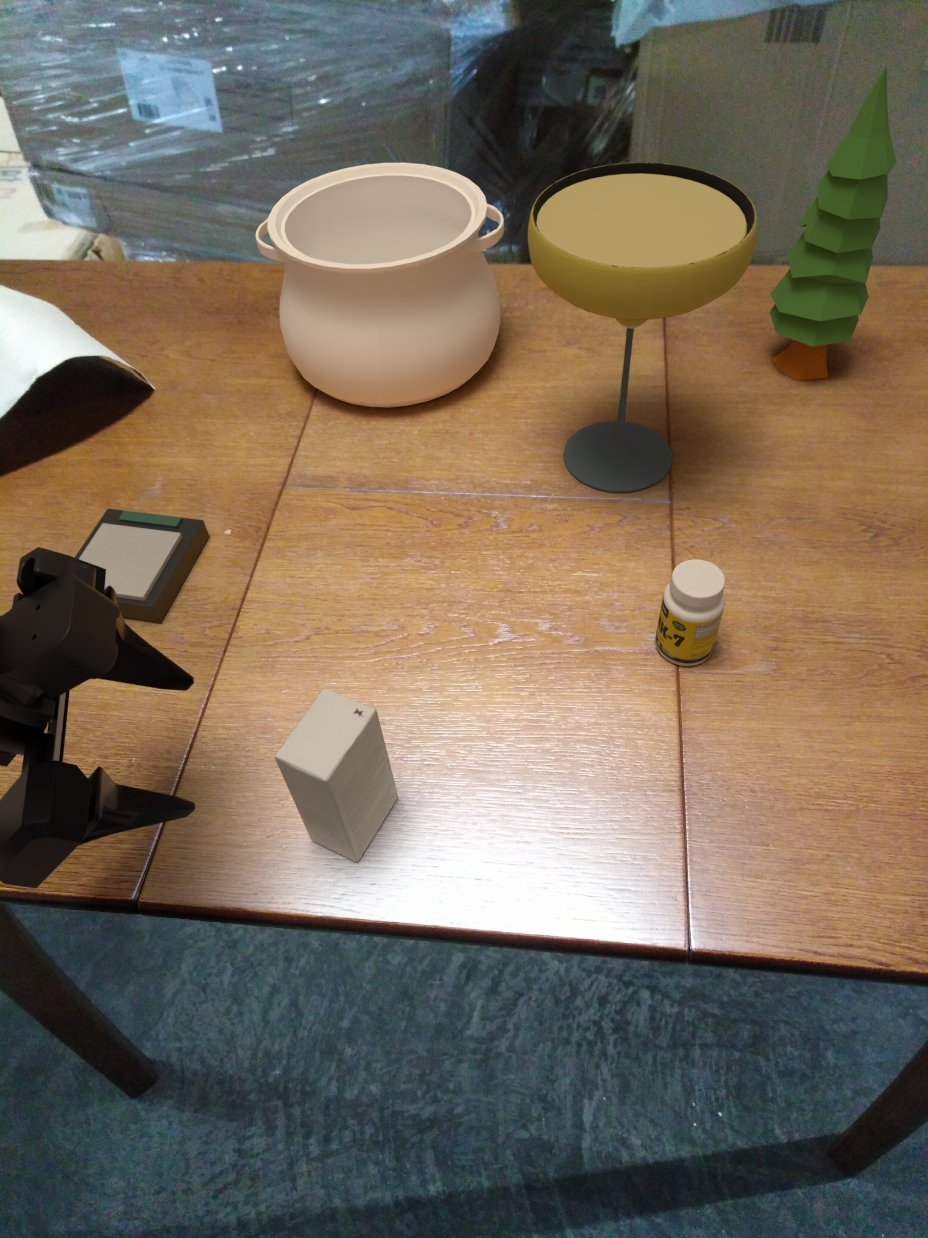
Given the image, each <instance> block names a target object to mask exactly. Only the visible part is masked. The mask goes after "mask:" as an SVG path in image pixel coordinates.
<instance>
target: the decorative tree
mask: <svg viewBox="0 0 928 1238" xmlns="http://www.w3.org/2000/svg"><path fill="white" fill-rule="evenodd" d="M896 164H897V158H896V154H895V149H894V145H893V140H892V137H891V132H890V122H889V105H888V64H885V66H884V68H882V71H881V73H880V74H879V76H878V77H877V78H876V81H875V82H874V84H873V85H872V86H871V88H870V90H869V92H868V93H867V95H866V97H865V99H864V101H863V103H862V105H861V106H860V109H859V111H858V113H857V114H856V117H855V119H854V121H853V123H852V124H851V127H850V128H849V130H848V132H847V133H846V135H845V136H844V138H843V139H842V141H841V142H840V144H839V145H838V146H837V148H836V149H835V151H834V153H833V154H832V156H831V157H830V159H829V160H828V162H827V163H826V165H825V166H826V167H827V170H826V171H825V173H824V174H823V176H822V177H821V178H820V180H819V181H818V183H817V184H816V195H817V196H816V198H815V199H814V200H813V201H812V203H811V205H810V206H809V207H808V209H807V210H806V212H805V213H804V214H803V215H802V217H801V218H800V220H799V221H798V223H799V225H800V226H799V227H800V228H801V227H802V228H804V231H803V232H802V234H801V235H800V237H799V238H798V239H797V240H796V242H795V243H794V244H793V246H792V248H791V249H790V250H789V251H788V253H787V254H786V257H787V262H788V266H789V269H788V270H787V272H786V273H785V274H784V275H783V276H782V278H781V279H780V280H779V282H778V283H777V284H776V285H775V287H774V288H773V289H772V290H771V292H770V293H769V294H770V296H771V298H772V300H773V303H774V305H773V306H772V308H771V309H770V311H769V316H770V319H771V322H772V324H773V327H774V330H775V333H776V335H779V336H780V337H781V336H782V337H783V338H784V337H785V338H787V339H790V340H792V342H791V344H790V345H789V346H788V347H787V348H785V349H784V350H782V351H780V353H778V354H777V355H776V356H774V357H773V358H772V359H771V360H772V362H773V364H774V365H775V367H776V368H777V370H778V371H779V372H780V373H782V374H784V375H786V376H788V377H790V378H792V379H794V380H796V381H806V380H820V379H822V380H823V379H829V373H828V362H827V353H828V349H827V345H830V344H831V345H833V344H838V343H843V342H849V341H851V340H852V337H853V335H854V333H855V331H856V327H857V325H858V322H859V321H860V319H859V318H860V317H859V316H861V315H862V313H863V311H864V308H865V306H866V304H867V302H868V300H869V296H870V295H869V292H868V288H867V282H868V279H869V278H868V277H869V273H870V270H871V267H872V263H873V258H874V255H873V249H872V248H873V245H874V244H875V241H876V240H877V237H878V235H879V233H880V230H881V218H882V217H883V214H884V211H885V208H886V205H887V202H888V199H889V192H888V191H889V190H888V189H889V186H888V184H889V181H888V176H889V175H888V174H890V172H891V171H892V169H894V166H895V165H896Z"/></svg>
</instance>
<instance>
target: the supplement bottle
mask: <svg viewBox="0 0 928 1238" xmlns="http://www.w3.org/2000/svg"><path fill="white" fill-rule="evenodd" d="M725 585H726V577H725V575H724V572H723V571H722V570H721V568H719V566H717V565H716V564H715V563H712V562H711V561H707V560H703V559H699V558H698V559H696V558H694V559H688V560H684V561H682V562H680V563H679V564H677V565H676V566H675V567H674V569H673V571H672V573H671V577H670V579H669V582H668V583H667V585H666V586H665V588H664V590H663V594H662V599H661V605H660V610H659V615H658V621H657V626H656V631H655V640H654V641H655V642H654V643H655V647H656V649H657V651H658V653H659V654H660V655H661V656H662V657H663V658H664V659H665V660H666V661H668V662H670V663H671V664H674V665H677V666H681V667H693V666H697V665H700V664H702V663H704V662H705V661H706V660H707V659H709V657H710V656H711V654H712V653H713V650H714V647H715V643H716V639H717V636H718V632H719V629H720V624H721V621H722V617H723V614H724V610H725V605H726V604H725V603H726V597H725V593H724V591H725V590H724V589H725Z"/></svg>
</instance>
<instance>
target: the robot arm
mask: <svg viewBox="0 0 928 1238" xmlns="http://www.w3.org/2000/svg"><path fill="white" fill-rule="evenodd" d="M105 578H106V569H104V568H102V567H99V566H96V565H93V564H91V563H88V562H85V561H82V560H80V559H77V558H75V556H72V555H70V554H66V553H62V552H58V551H55V550H51V549H47V548H43V547H40V546H38V547H36V548H34V549H32V550H31V551H29V552H27V553H26V554H24V555H22V556H21V557H20V559H19V562H18V569H17V576H16V586H17V587H18V590H20V592H17V593H15V594H14V595H13V597H12V599H13V600H12V606H11V608H10V609H9V610H8V611H6V612H5V613H4V614H2V615H0V766H2V767H5V768H7V767H8V766H9V765H10V764H11V762H12V761H13V760H14V759H15V757H16V756H23V757H22V763H21V772H20V775H19V777H18V778H17V779H16V780H15V782H14V783H13V784H12V785H11V786H10V787H9V789H8V790H7V791H6V792H5V793H4V794H3V796H2V797H0V882H1V883H2V884H3V885H9V886H14V887H15V886H16V887H23V888H30V889H38V888H39V887H40V886H41V884H42V883H44V881H45V880H47V878H48V877H50V875H51V874H52V873H53V872H54V871H55V870H57V868H59V866H60V865H61V864H62V863H63V862H64V861H65V860H66V859H67V858H68V856H70V855H71V854H72V852H74V851H75V850H76V849H77V847H79V846H81V845H84V844H85V845H86V844H87V843H90V842H93V841H97V840H99V839H102V838H105V837H108V836H112V835H115V834H119V833H124V832H128V831H132V830H133V831H134V830H137V829H141V828H147V827H150V826H154V825H158V824H162V823H167V822H171V821H176V820H181V819H185V818H188V817H189V816H191V815H192V814H193V813H194V812H195V811H196V809H197V807H196V803H195V802H194V801H191V800H189V799H185V798H184V797H180V796H177V795H173V794H168V793H164V792H160V791H154V790H149V789H144V788H139V787H134V786H129V785H124V784H120V783H117V782H115V781H114V780H113V779H112V777H111V776H110V775H109V773H107V772H106V771H105V770H104V768H103V767H102V766H97V767H96V768H95V769H94V770H93V772H91V774H90V775H89V776H87V775H86V774H85V773H84V772H83V771H82V770H81V768H80V767H79V766H78V765H77V764H74V763H69V762H66V761H64V755H65V754H64V752H65V745H66V743H65V742H66V735H67V734H66V733H67V722H68V715H69V714H68V713H69V703H70V692H71V690H73V689H75V688H76V687H78V686H80V685H82V684H84V683H86V682H87V681H89V680H104V681H109V682H114V683H115V682H116V683H122V684H128V685H132V686H133V685H134V686H140V687H146V688H152V689H158V690H167V691H180V692H181V691H183V692H187V691H188V690H189V689H190V688H191V687H192V686H194V684H195V678H194V676H193V675H191V674H190V673H189V672H187V671H186V670H185V669H183V668H182V667H181V666H179V665H178V664H177V663H175V662H174V661H173V660H172V659H170V658H169V657H168V656H167V655H165V654H163V652H161V651H160V650H158V649H157V648H155V646H153V645H151V644H150V643H149V642H148V641H146V639H144V638H143V637H141V636H140V635H139V634H138V633H137V631H135V630H133V628H131V627H130V626H129V625H128V624H127V622H125V620H124V618H123V617H122V615H121V612H120V608H119V605H118V604H117V601H116V592H115V590H114V588H113V587H112V586H110V585H109V586H107V587H106V589H105ZM46 729H47V730H46ZM45 731H46V732H45Z"/></svg>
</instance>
